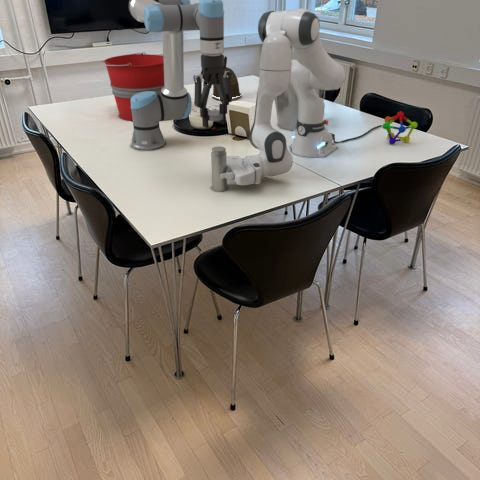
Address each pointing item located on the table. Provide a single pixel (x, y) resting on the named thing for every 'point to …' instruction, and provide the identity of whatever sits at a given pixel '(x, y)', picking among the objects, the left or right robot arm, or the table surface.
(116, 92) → the bucket
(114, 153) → the table surface
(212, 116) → the lid
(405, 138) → the educational toy
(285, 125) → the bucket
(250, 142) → the right robot arm
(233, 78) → the bell
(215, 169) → the jar
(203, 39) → the left robot arm
